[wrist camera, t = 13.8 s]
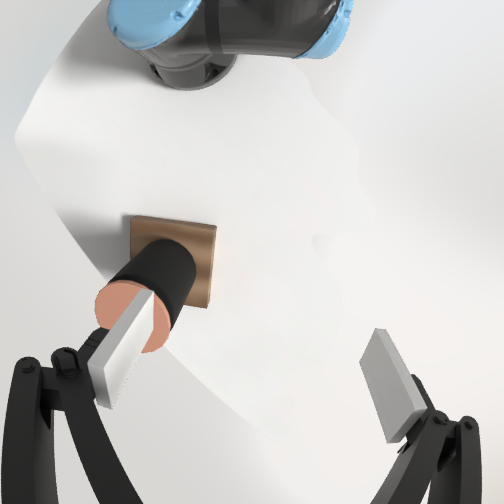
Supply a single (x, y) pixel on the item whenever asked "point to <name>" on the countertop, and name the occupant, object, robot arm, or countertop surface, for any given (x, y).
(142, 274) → the coffee jar
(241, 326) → the countertop surface
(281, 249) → the countertop surface
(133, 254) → the walnut riser
